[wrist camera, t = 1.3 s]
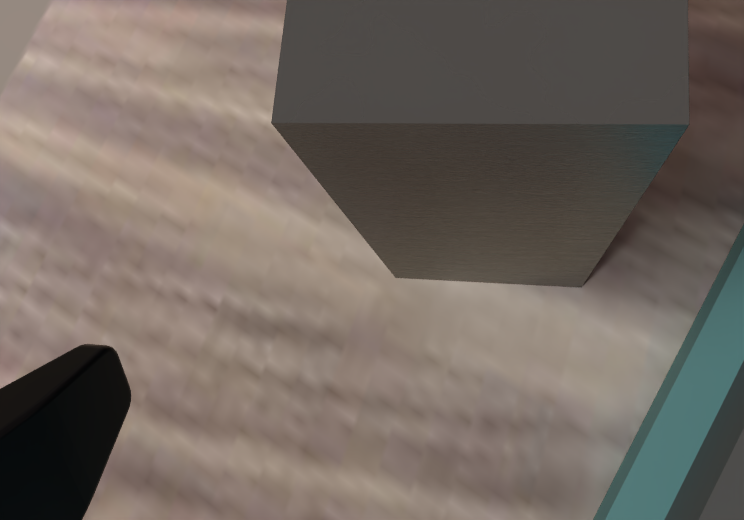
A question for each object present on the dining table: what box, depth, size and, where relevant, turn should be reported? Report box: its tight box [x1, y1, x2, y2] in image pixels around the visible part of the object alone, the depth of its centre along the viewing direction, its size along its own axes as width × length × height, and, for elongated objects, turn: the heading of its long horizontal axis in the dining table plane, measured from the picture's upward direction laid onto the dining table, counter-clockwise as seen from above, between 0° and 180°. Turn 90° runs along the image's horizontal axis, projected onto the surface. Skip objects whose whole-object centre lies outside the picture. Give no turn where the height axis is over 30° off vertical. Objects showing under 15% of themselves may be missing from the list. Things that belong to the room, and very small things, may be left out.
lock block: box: [271, 0, 689, 287], centre depth 16 cm, size 6×6×12 cm
